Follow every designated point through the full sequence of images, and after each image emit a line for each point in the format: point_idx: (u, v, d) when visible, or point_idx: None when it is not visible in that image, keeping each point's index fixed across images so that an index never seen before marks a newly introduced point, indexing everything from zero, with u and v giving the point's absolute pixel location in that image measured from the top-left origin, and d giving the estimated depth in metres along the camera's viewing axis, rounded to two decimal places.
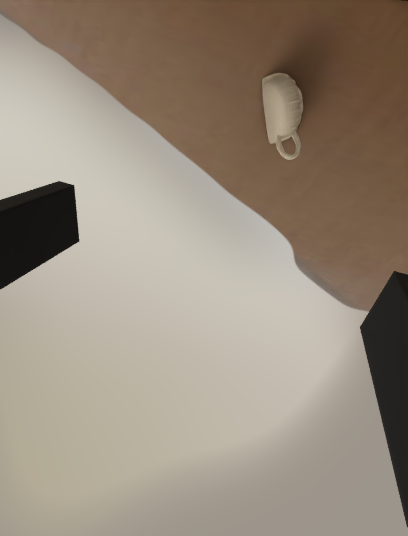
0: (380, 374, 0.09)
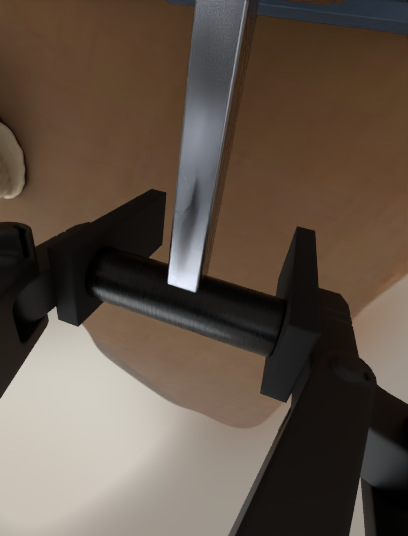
0: None
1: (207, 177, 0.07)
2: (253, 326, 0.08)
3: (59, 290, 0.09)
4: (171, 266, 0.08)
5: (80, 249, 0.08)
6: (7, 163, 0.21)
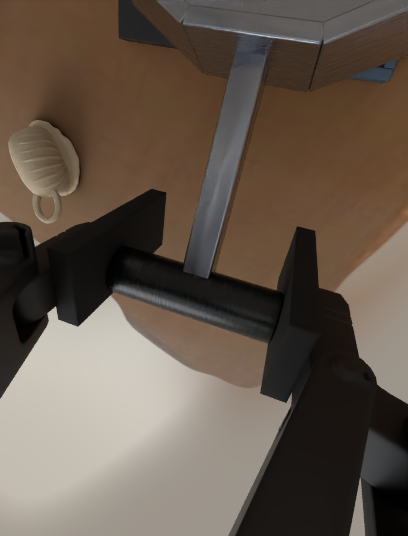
0: None
1: (227, 177, 0.09)
2: (257, 306, 0.09)
3: (59, 290, 0.09)
4: (188, 254, 0.10)
5: (80, 249, 0.08)
6: (67, 167, 0.27)
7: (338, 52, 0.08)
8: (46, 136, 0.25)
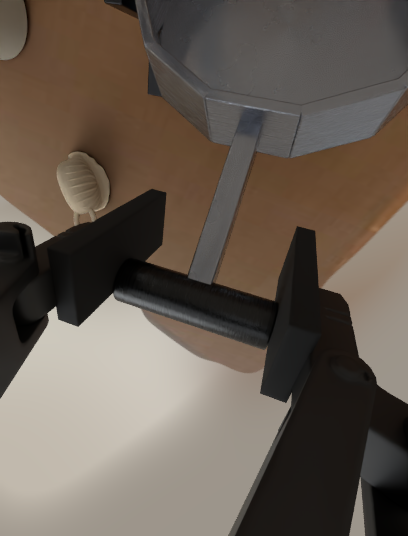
0: None
1: (231, 202, 0.11)
2: (256, 307, 0.10)
3: (59, 290, 0.09)
4: (194, 262, 0.11)
5: (80, 249, 0.08)
6: (100, 189, 0.33)
7: (311, 126, 0.11)
8: (85, 165, 0.31)
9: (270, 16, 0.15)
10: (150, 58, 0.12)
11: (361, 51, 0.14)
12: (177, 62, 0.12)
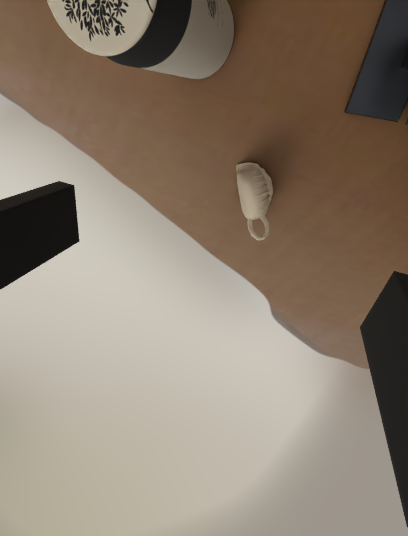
0: (380, 374, 0.09)
1: None
2: None
3: None
4: None
5: None
6: None
7: None
8: (263, 176, 0.33)
9: None
10: None
11: None
12: None
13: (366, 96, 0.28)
